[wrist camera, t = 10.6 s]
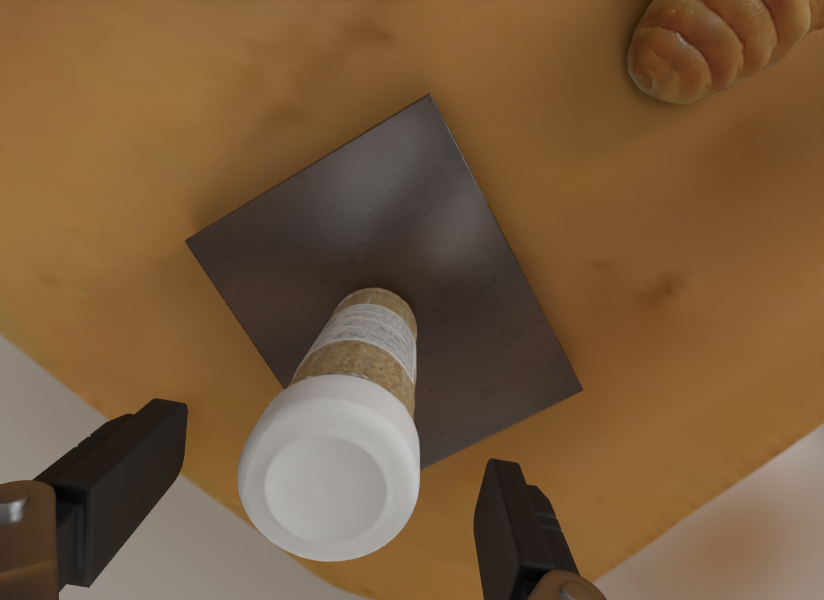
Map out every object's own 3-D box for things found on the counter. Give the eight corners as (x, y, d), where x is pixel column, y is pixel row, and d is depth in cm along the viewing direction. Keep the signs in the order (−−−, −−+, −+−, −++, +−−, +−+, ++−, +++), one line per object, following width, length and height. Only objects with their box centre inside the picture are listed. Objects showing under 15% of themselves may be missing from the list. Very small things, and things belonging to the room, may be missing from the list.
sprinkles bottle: (376, 385, 25) (333, 601, 12) (312, 328, 24) (192, 493, 11) (436, 326, 24) (459, 489, 11) (371, 265, 24) (316, 365, 11)
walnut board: (197, 237, 25) (183, 240, 23) (429, 97, 23) (430, 92, 22) (361, 484, 28) (358, 501, 27) (574, 379, 27) (583, 390, 25)
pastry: (673, 144, 24) (721, 136, 20) (587, 37, 23) (620, 7, 19) (837, -3, 22) (922, -42, 18) (753, -125, 21) (825, -192, 17)
